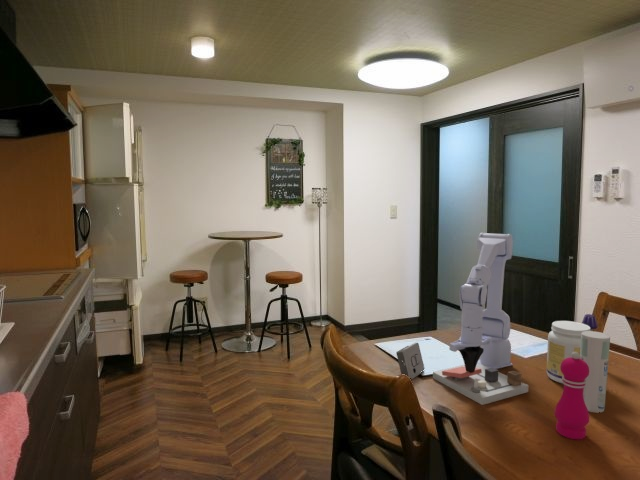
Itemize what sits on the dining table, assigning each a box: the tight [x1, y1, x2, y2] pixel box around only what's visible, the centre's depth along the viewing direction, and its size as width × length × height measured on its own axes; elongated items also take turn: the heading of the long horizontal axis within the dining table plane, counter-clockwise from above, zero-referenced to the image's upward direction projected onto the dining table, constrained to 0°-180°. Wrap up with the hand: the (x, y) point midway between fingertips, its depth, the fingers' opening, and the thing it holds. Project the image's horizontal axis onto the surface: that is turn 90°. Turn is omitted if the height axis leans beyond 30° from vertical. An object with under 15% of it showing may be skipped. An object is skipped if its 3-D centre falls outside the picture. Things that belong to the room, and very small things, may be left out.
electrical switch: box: [396, 342, 425, 380], centre depth 146 cm, size 9×5×9 cm, turn 141°
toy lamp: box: [581, 313, 598, 331], centre depth 153 cm, size 5×5×17 cm
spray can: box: [580, 331, 611, 414], centre depth 122 cm, size 6×6×20 cm
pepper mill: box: [554, 352, 590, 440], centre depth 109 cm, size 7×7×20 cm
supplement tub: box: [545, 320, 590, 384], centre depth 141 cm, size 12×12×17 cm
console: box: [432, 363, 529, 406], centre depth 137 cm, size 18×20×6 cm
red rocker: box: [442, 367, 482, 378], centre depth 137 cm, size 8×8×1 cm
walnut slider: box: [506, 370, 522, 386], centre depth 133 cm, size 2×3×3 cm
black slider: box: [485, 368, 499, 383], centre depth 135 cm, size 3×2×3 cm
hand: (470, 371), depth 133 cm, fingers closed, pressing on red rocker
